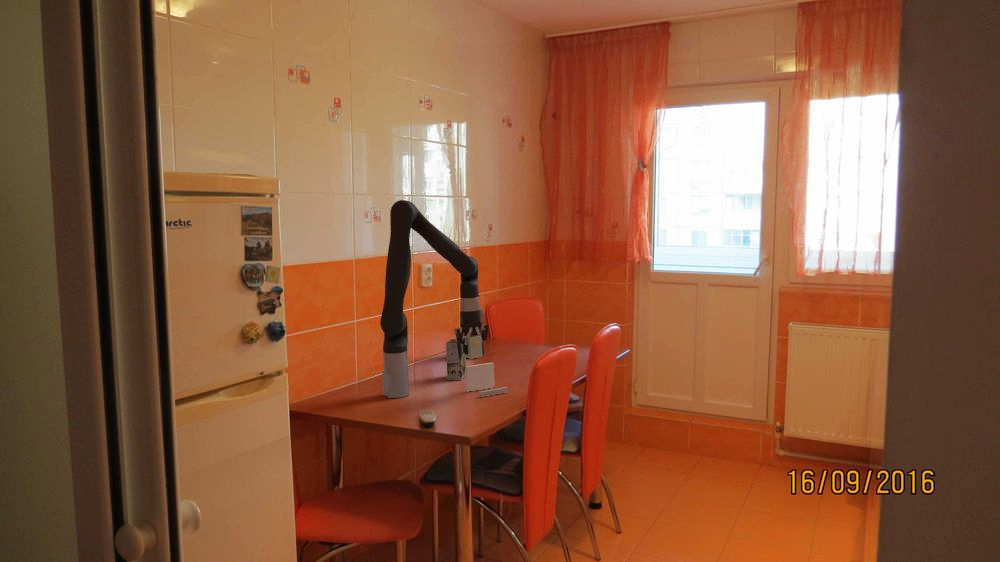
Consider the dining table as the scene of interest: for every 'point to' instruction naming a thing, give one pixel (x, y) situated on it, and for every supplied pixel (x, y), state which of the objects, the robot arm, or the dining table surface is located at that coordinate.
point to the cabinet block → (474, 347)
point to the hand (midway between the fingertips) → (472, 353)
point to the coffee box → (455, 360)
